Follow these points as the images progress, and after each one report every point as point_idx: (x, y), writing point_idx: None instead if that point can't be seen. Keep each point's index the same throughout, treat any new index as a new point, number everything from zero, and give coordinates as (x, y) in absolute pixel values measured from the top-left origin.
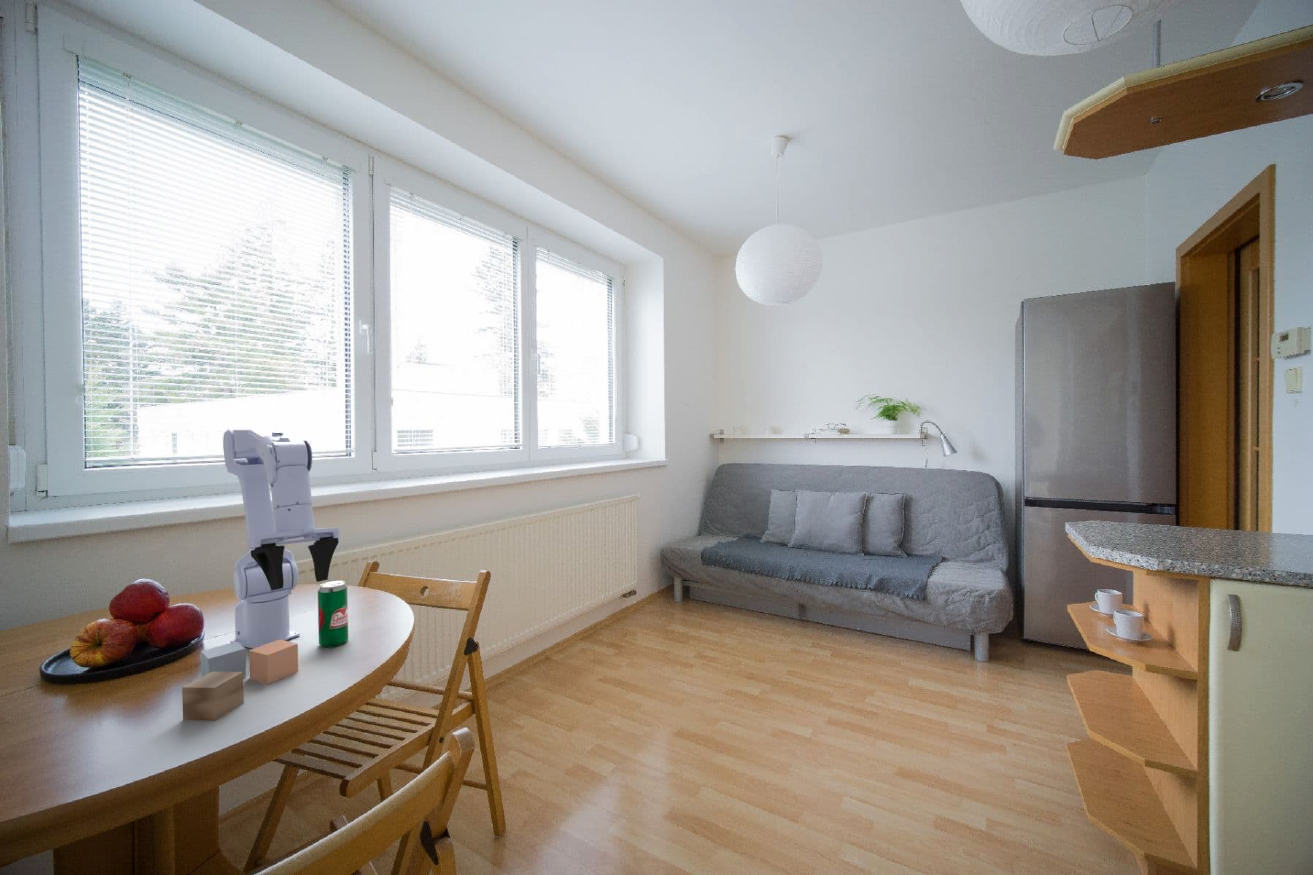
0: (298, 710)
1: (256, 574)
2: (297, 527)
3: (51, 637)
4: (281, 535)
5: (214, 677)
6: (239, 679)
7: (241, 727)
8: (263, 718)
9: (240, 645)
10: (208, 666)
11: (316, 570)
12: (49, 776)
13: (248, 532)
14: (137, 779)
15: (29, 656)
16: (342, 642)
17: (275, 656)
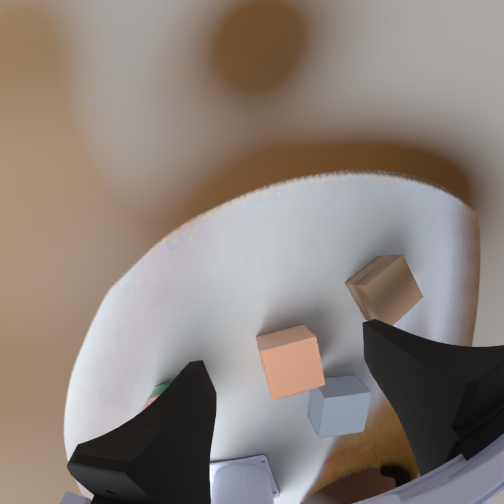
0: (305, 190)
1: None
2: None
3: None
4: (496, 460)
5: (393, 299)
6: (365, 281)
7: (363, 207)
8: (341, 208)
9: (323, 417)
10: (366, 386)
11: (209, 422)
12: (468, 264)
13: None
14: (434, 188)
15: None
16: (166, 383)
17: (299, 338)
